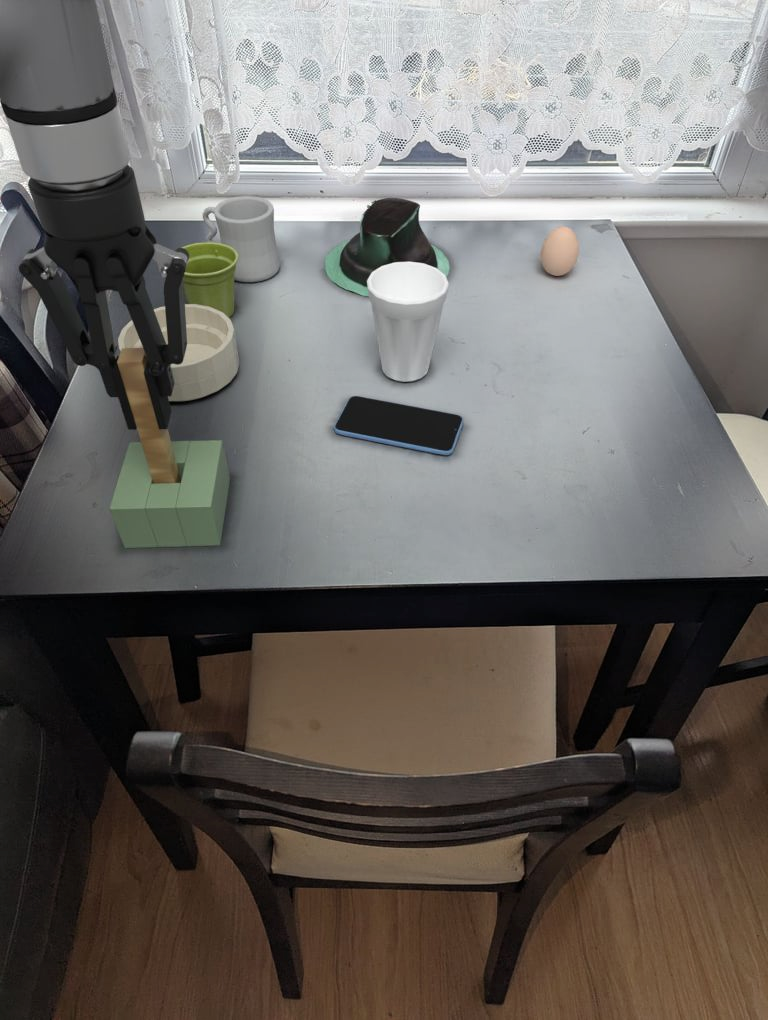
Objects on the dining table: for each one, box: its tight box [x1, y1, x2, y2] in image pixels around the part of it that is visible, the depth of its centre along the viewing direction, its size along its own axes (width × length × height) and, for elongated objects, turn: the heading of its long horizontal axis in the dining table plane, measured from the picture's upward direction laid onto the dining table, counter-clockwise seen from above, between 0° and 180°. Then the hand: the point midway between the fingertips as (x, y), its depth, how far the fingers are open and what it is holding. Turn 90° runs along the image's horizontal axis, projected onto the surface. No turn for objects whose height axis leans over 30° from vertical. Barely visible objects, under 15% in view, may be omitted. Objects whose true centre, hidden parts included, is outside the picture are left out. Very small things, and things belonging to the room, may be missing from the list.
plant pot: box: [181, 241, 238, 319], centre depth 104 cm, size 9×9×9 cm
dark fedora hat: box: [324, 197, 450, 297], centre depth 116 cm, size 15×19×20 cm
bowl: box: [117, 303, 240, 402], centre depth 95 cm, size 14×14×6 cm
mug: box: [202, 195, 281, 283], centre depth 113 cm, size 12×9×10 cm
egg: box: [540, 226, 580, 277], centre depth 113 cm, size 6×6×8 cm
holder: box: [109, 439, 231, 549], centre depth 78 cm, size 10×10×6 cm
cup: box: [367, 262, 450, 383], centre depth 93 cm, size 10×10×13 cm
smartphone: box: [333, 395, 464, 456], centre depth 89 cm, size 7×1×15 cm
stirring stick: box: [117, 348, 181, 484], centre depth 71 cm, size 2×2×18 cm
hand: (150, 420), depth 70 cm, fingers closed on stirring stick, 2 cm apart
